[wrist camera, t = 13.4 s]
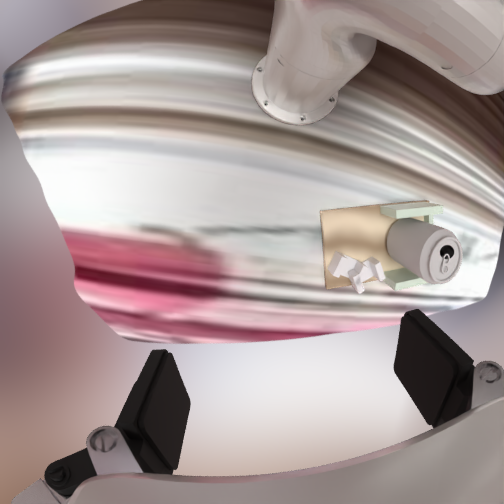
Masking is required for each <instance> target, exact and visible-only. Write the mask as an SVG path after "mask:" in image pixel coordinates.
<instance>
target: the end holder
mask: <svg viewBox="0 0 504 504" xmlns="http://www.w3.org/2000/svg"><path fill="white" fill-rule="evenodd" d="M380 212H381V214H383V215H386V216H389V217H392V218H395V219H400V218H408V217H417V216H424V222H427V223H430V224H433V215H434V214H443V206H442V205H438V204H433V203H429V202H415V203H404V204H393V205H383V206H380ZM384 275H385V278H386V279H384V280H383V281H384V282H385V283H386V284H388V285H389V286H390V287H391V288H392V289H394V290H395V291H397V290H402V289H406V288H410V287H414V286H418V285H422V284H426V283H428V282H426V281H425V280H423V279H422V278H420V277H419V276H417V275H416V274H414V273H413V272H411V271H410V270H408V269H407V268H400V269H395V270H390V271H385V272H384Z"/></svg>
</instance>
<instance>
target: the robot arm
mask: <svg viewBox="0 0 504 504" xmlns="http://www.w3.org/2000/svg"><path fill="white" fill-rule="evenodd" d="M377 39H378V40H380V41H382V42H384V43H387V44H389V45H391V46H393V47H396V48H398V49H400V50H402V51H404V52H405V53H407V54H409V55H411V56H413V57H414V58H416V59H418V60H419V61H421V62H423V63H424V64H426V65H427V66H429V67H431V68H432V69H434V70H435V71H437V72H438V73H440V74H441V75H443V76H445V77H446V78H447V79H449V80H450V81H452V82H454V83H455V84H457V85H458V86H460V87H462V88H463V89H465V90H467V91H470V92H472V93H476V94H480V95H491V94H495V93H498V92H500V91H502V90H504V0H275V7H274V15H273V22H272V28H271V34H270V39H269V45H268V51H267V55H266V56H264V57H263V58H262V59H261V60H260V61H259V62H258V64H257V65H256V67H255V69H254V71H253V74H252V82H251V86H252V92H253V95H254V97H255V100H256V101H257V103H258V105H259V106H260V107H261V108H262V109H263V110H264V112H265V113H267V114H268V115H270V116H271V117H272V118H274V119H276V120H278V121H280V122H283V123H287V124H292V125H307V124H312V123H314V122H317V121H319V120H321V119H322V118H324V117H325V116H326V115H328V114H329V113H330V112H331V110H332V109H333V108H334V106H335V104H336V102H337V99H338V94H339V89H340V88H342V87H343V86H344V85H345V84H346V83H347V82H348V81H349V80H351V79H352V78H353V77H354V76H355V75H356V74H358V73H359V72H360V71H361V70H362V69H363V68H364V67H365V66H366V65H367V64H368V63H369V62H370V60H371V59H372V57H373V55H374V53H375V49H376V42H377ZM259 70H260V71H261V72H258V71H259ZM329 100H331V101H332V102H330V101H329ZM265 103H266V104H267V106H264V104H265ZM300 118H302V119H303V121H301V120H300ZM473 362H474V360H472V358H471V357H469V355H468V354H467V353H465V352H464V351H463V350H462V349H461V348H460V347H459V346H458V345H457V344H456V343H455V342H454V341H453V340H452V339H450V337H449V336H448V335H447V334H446V333H444V332H443V331H442V330H441V329H440V328H439V327H438V326H437V325H436V324H435V323H434V322H433V321H431V320H430V319H429V318H428V317H427V316H426V315H425V314H424V313H423V312H421V311H420V310H419V309H415V310H412V311H408V312H406V313H405V314H404V316H403V317H402V318H401V325H400V332H399V339H398V345H397V351H396V357H395V362H394V372H395V374H396V375H397V377H398V378H399V380H400V381H401V383H402V384H403V386H404V387H405V389H406V390H407V392H408V394H409V395H410V397H411V398H412V400H413V402H414V403H415V405H416V406H417V408H418V409H419V411H420V413H421V414H422V416H423V417H424V419H425V420H426V422H427V424H429V425H432V426H433V429H431V430H429V431H427V432H425V433H422V434H420V435H418V436H415V437H413V438H411V439H408V440H406V441H403V442H401V443H398V444H395V445H393V446H390V447H387V448H384V449H381V450H378V451H375V452H372V453H369V454H366V455H362V456H359V457H355V458H352V459H348V460H344V461H340V462H336V463H332V464H327V465H322V466H318V467H313V468H307V469H302V470H295V471H288V472H280V473H272V474H261V475H249V476H182V475H172V474H173V470H176V469H177V468H178V464H179V459H180V454H181V449H182V444H183V439H184V434H185V429H186V425H187V420H188V415H189V411H190V398H189V396H188V393H187V391H186V388H185V386H184V383H183V381H182V379H181V376H180V373H179V371H178V368H177V365H176V362H175V360H174V357H173V355H172V353H168V351H167V350H166V349H163V350H152V351H151V353H150V355H149V357H148V359H147V361H146V363H145V365H144V367H143V369H142V372H141V373H140V376H139V377H138V380H137V381H136V382H135V384H134V386H133V388H132V390H131V392H130V394H129V396H128V398H127V401H126V402H125V405H124V407H123V409H122V411H121V413H120V415H119V418H118V420H117V422H116V424H115V426H114V427H111V426H102V427H98V428H97V429H95V430H93V431H92V432H91V433H90V434H89V436H88V437H87V441H86V444H87V448H85V449H83V450H81V451H79V452H76V453H74V454H72V455H69V456H67V457H65V458H62V459H60V460H57V461H55V462H53V463H51V464H50V465H49V466H48V467H47V469H46V471H45V475H44V476H45V479H44V480H42V479H41V478H40V479H39V480H37V481H36V482H35V483H33V484H32V485H31V486H29V487H28V488H27V489H25V490H24V491H23V492H21V493H20V494H18V495H17V496H16V497H14V499H13V500H12V502H11V504H504V370H503V368H502V367H501V366H500V365H499V364H497V363H496V362H493V361H483V362H480V363H479V364H477V365H476V367H474V365H473Z"/></svg>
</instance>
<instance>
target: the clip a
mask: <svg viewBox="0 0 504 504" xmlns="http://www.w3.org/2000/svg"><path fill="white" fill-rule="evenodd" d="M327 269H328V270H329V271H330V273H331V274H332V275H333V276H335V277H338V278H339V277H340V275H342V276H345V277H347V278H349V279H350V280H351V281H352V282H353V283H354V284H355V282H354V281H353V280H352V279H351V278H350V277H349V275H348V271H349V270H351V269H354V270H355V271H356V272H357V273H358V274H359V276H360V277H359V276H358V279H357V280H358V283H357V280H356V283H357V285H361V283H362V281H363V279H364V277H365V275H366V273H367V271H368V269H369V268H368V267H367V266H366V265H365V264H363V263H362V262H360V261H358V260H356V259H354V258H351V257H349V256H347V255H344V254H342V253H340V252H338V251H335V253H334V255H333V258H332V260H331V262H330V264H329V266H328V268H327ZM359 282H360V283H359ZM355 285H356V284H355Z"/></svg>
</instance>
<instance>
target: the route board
mask: <svg viewBox="0 0 504 504" xmlns="http://www.w3.org/2000/svg"><path fill="white" fill-rule="evenodd" d="M415 202H429V201H427V200H424V201H412V202H401V203H390V204H380V205H370V206H360V207H351V208H342V209H333V210H324V211H320V216H321V227H322V239H323V253H324V269H325V287H326V289H332V288H338V287H344V286H349V285H352V284H351V281H350V279H349V278H347V277H345V276H342V275H340V277H339V278H338V277H335V276H333V275H332V274H331V273H330V271H329V270H328V269H327V268H328V266H329V264H330V262H331V260H332V258H333V255H334V253H335V251H338V252H340V253H342V254H344V255H347V256H349V257H351V258H354V259H356V260H358V261H360V262H363V261H364V260H366V259H368V258H370V257H371V256H372V257H374V258H375V259H377V260H378V261H380V263H381V266H382V269H383V272H385V271H390V270H395V269H400V268H405V267H404V266H402V265H400V264H399V263H397V262H396V261H394V260H393V259H392V258H391V257H390V255H389V253H388V249H387V236H388V234H389V231H390V229H391V227H392V226H393V224H394V223H395V222H397V221H398V220H399V219H395V218H392V217H389V216H386V215H383V214H381V212H380V206H383V205H393V204H404V203H415ZM411 218H414V219H417V220H420V221H424V216H417V217H411ZM400 219H402V218H400ZM375 280H378V279H377V278H375V277H374V276H373V277H371V278H369V279H368V280H366V281H364V282H362V283H365V282H370V281H375Z"/></svg>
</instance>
